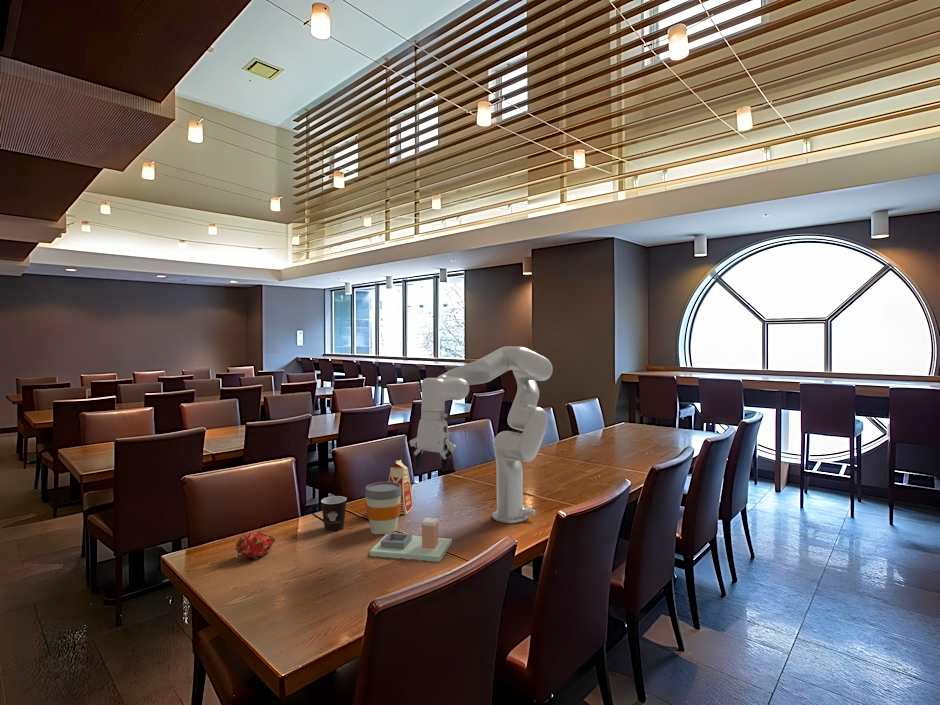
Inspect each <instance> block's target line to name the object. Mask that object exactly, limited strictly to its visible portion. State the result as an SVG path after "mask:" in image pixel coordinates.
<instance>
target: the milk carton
mask: <svg viewBox="0 0 940 705" xmlns="http://www.w3.org/2000/svg"><path fill="white" fill-rule="evenodd" d="M389 471H390V472H389V476H388V480H387V482H395V483H399V484H400V485H401V492H402V494H401V497H400V501H401V508H400V514H407V513H408V512H409V511H410V510H411V509H412V508H414V504H413V494H412V486H411V485H412V484H411V479H410V474H409V468H408V467H407V466H406V465H405V464H404V463H403V462H402V459H400V460H395V463H394V464H393V465H391V467H390V470H389ZM412 510H413V509H412ZM412 510H411V511H412ZM411 511H410V512H411ZM410 512H409V513H410ZM409 513H408V514H409ZM408 514H407V515H408Z"/></svg>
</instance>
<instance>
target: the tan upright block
mask: <svg viewBox="0 0 940 705" xmlns="http://www.w3.org/2000/svg"><path fill="white" fill-rule="evenodd" d="M421 536H422V548H429V549H435V548H436V546H437V545H438V538H439V518H437V517H425V518H424V519H423V520H422V521H421Z"/></svg>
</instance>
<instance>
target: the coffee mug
mask: <svg viewBox="0 0 940 705" xmlns="http://www.w3.org/2000/svg"><path fill="white" fill-rule="evenodd" d="M347 501H348V500H347V497H345V496H341V495H340V496H339V495H333V496H327V497H324V498H322V499H321V501H320V502H321V503H320V504H319V503H315V504H313V505H311V506H310V509H309V512H310V513H311V515H312V516H313V517H314V518H316V519H317V520H318V519H319V520H320V521H322V522H323V527H324V531H325V530H326V532H328V531H329V532H330V531H333V532H332V533H335V531H336V532H340V531H342V530H344V528H345V518H346V509H347ZM314 507H319V508H320V510H321V511H322V517H320V516H318V515H317V514H315V513H314V512H313V508H314ZM339 530H340V531H339ZM329 532H328V533H329ZM330 533H331V532H330Z"/></svg>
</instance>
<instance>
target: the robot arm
mask: <svg viewBox="0 0 940 705" xmlns="http://www.w3.org/2000/svg"><path fill="white" fill-rule="evenodd" d="M553 370H554V369H553V364H552V363H551V361H550V360H549V359H548V358H547V357H545V356H544V355H541V354H539V353H537V352H536V351H533V350H531V349H529V348H527V347H524V346H514V345H513V346H510V345H507V346H502V347H500V348H498V349H496V350H494V351H492V352H491V353H489V354H487V355H485V356H483V357H481V358H479V359H477V360H475V361H471V362H468V363H466V364H464V365H460V366H457V367H455V368H451V369H449V370H447V371H446V372H444V373H442V374H439V376H437V377H426V378H423V380H422V382H421V410H420V411H421V412H420V413H421V414H420V415H421V416H420V417H421V418H420V419H419V422H418V426H417V435H416V437H415V438H412V439H411V440H409V445H410V447H411V450H412V452H413V455H414V456H415V468H417V469H418V468H422V467H423V466H424V454H423V452H431V453H439V454H440V456H441V457H442V458H441V460H440V462H441V463H440V471H441V472H443V473H444V472H447V471H448V470H449V466H450V464H449V463H450V461H449V460H450V458H451V457H452V456H453V455H454V453H455V451H456V449H457V445H456V444H454V443H453V442H452V441H451V440H450V433H449V432H450V431H449V427H448V426H449V425H448V421H447V420H445V419H446V418H448V413H446V411H445V410H446V405H445V404H446V400H451V401H461V400H463V399H465V398H467V396H468V395H469V393H470V386H473V385H481V384H486V383H489V382H491V381H492V380H494V379H496V378H497V377H499V376H501V375H503V374H504V373H507V372H508V371H512V373H513V376H514V378H515V381H516V385H517V389H516V390H517V391H516V394H515V397H514V400H513V402H512V405H511V406H510V407H511V408H510V409H509V412H508V415H507V425H508V426H509V427H510V428H512V429H515V430H518V431H522V433H520V432H517V431H516V432H515V431H510V430H503V431H501V432H499V433H497V434H496V435H495V437H494V439H493V451H494V452H493V453H494V458H495V464H496V465H495V466H496V511H494V512H492V518H493V520H495V521H497V522H499V523H504V524H518V522H519V523H523V522H525V521H526V520H527V519H528V516H529V515H530V516H535V515H536V510H535V509H533V507H526V506H525V503H523V502H524V498H523V497H524V494H523V490H524V489H523V480H524V479H523V476H524V475H523V464H522V462H524V463H529V462H531V461H534V459H535V458H536V457H537V455H538V453H539V450H540V448H541V446H542V443H543V439H544V438H545V434H546V432H547V428H548V423H549V417H548V414H547V412H546V410H545V409H544V408H542V407H540V406H538V402H539V399H540V389H539V386H538V383H537V382H538V381H539V382H543V381H544V382H545V381H547V380H549V379H550V378H551V376H552V375H553Z"/></svg>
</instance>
